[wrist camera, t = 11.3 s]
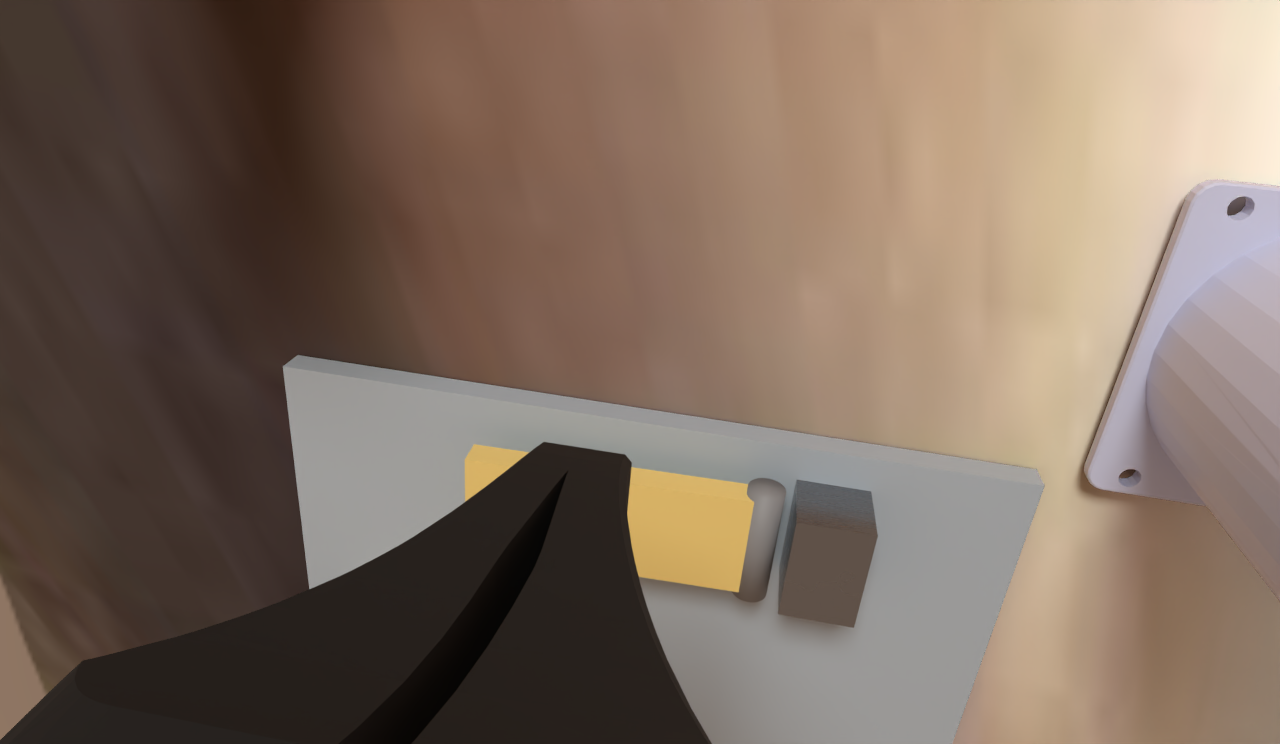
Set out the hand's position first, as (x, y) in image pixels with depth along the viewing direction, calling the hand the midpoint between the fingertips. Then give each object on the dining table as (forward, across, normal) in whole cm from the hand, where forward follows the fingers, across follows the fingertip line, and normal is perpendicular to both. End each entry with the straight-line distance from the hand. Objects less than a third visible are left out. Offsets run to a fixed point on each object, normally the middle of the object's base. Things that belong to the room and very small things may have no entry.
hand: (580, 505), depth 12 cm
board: (+10, 0, +12) cm, 16 cm away
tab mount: (+10, -5, +6) cm, 13 cm away
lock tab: (+9, 0, +7) cm, 11 cm away
